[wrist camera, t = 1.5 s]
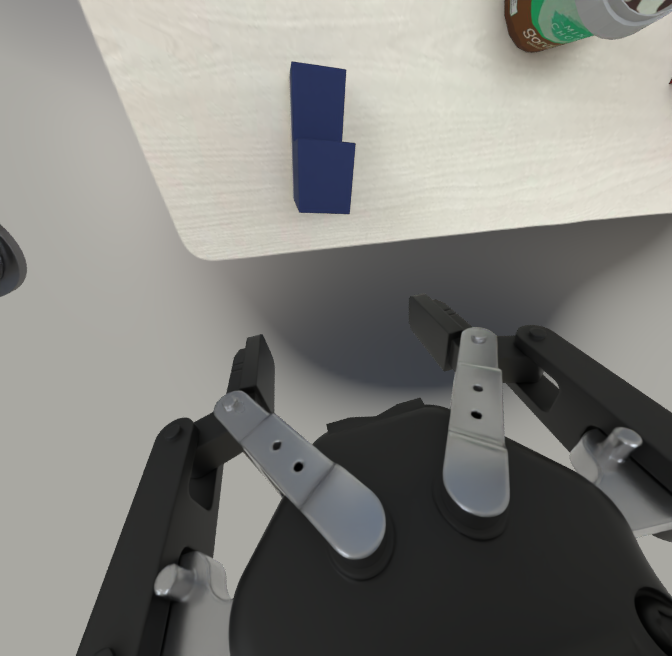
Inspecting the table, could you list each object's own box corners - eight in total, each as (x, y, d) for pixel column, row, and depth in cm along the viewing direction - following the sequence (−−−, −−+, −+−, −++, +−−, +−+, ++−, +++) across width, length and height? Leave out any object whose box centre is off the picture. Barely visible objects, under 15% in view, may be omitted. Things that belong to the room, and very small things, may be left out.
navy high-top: (293, 198, 28) (299, 212, 21) (289, 75, 23) (295, 35, 15) (331, 199, 29) (349, 214, 22) (336, 82, 24) (364, 47, 16)
